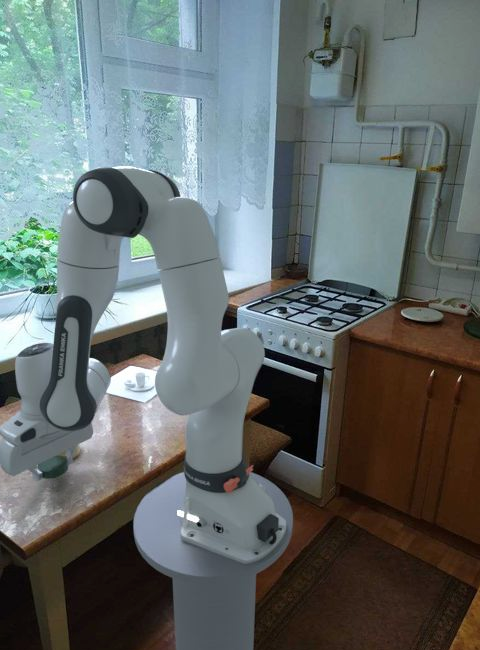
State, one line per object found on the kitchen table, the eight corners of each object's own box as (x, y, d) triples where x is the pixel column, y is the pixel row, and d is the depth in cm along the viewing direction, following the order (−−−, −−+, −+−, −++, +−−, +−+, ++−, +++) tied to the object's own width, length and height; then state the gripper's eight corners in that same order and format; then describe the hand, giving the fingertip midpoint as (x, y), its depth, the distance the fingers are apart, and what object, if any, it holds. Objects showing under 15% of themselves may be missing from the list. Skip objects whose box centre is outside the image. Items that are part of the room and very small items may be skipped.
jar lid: (36, 468, 111) (34, 461, 110) (64, 459, 114) (63, 452, 113) (42, 482, 106) (40, 475, 106) (71, 472, 109) (69, 465, 109)
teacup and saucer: (120, 388, 154) (119, 376, 152) (135, 378, 160) (135, 367, 159) (143, 394, 151) (143, 382, 149) (158, 383, 157) (158, 372, 156)
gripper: (78, 395, 115) (84, 446, 120) (-10, 431, 99) (1, 488, 104) (96, 403, 111) (101, 455, 116) (7, 442, 96) (17, 500, 101)
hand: (53, 471), depth 110 cm, fingers closed on jar lid, 6 cm apart
